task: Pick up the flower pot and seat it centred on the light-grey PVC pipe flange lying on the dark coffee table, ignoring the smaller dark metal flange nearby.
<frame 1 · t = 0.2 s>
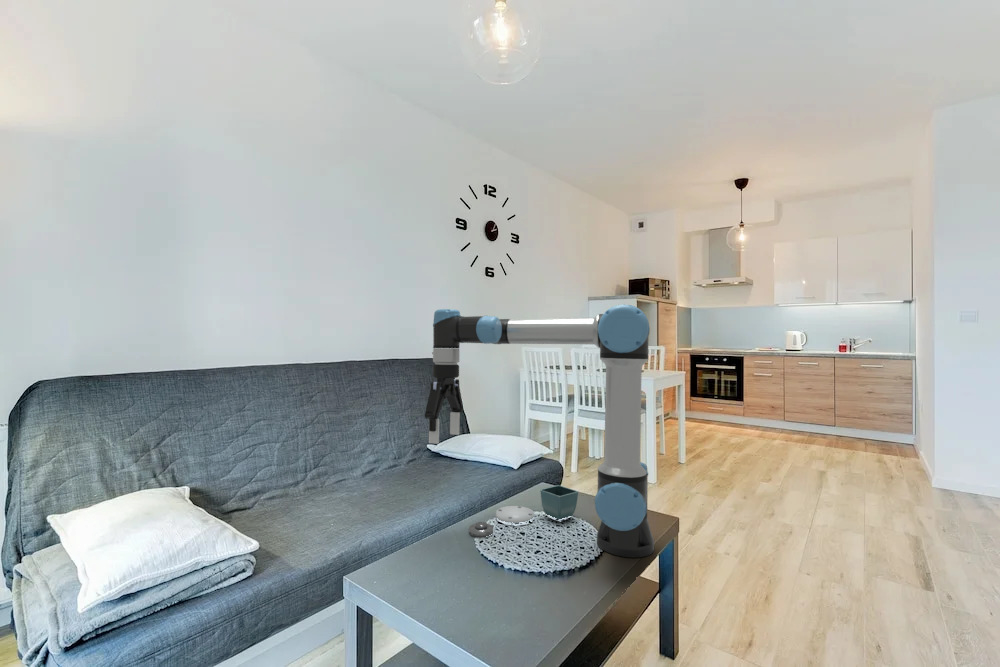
hand: (444, 438, 130), 28 cm above the table, fingers open, 13 cm apart
small metal flange: (481, 532, 133), on the table
flower pot: (558, 519, 145), on the table
grey flange: (514, 518, 144), on the table
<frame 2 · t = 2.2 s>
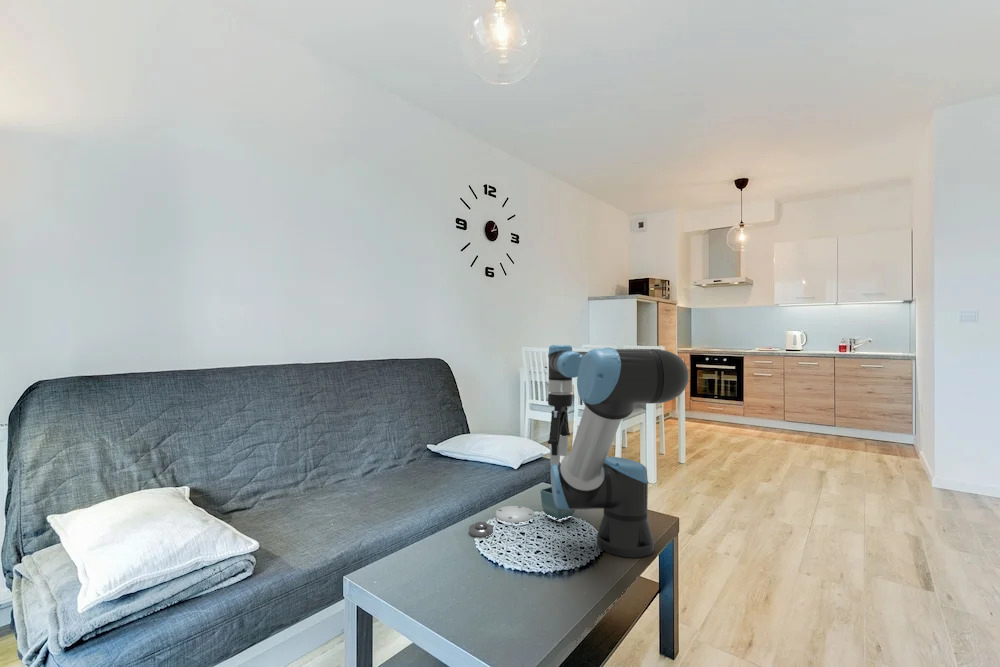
hand: (559, 460, 145), 18 cm above the table, fingers open, 13 cm apart
nothing on the table moved.
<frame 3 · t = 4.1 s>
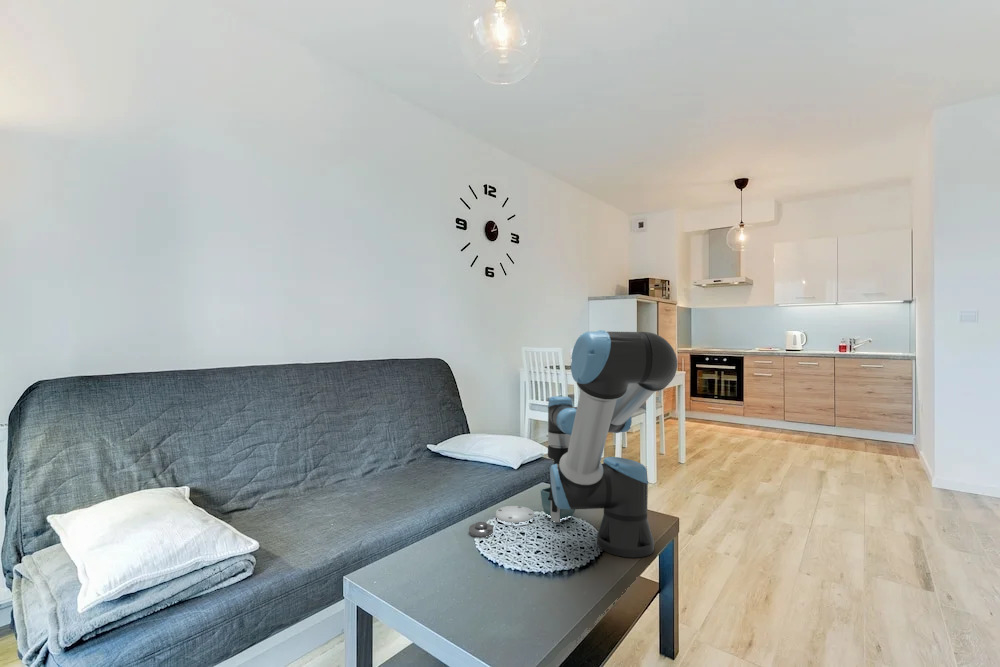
hand: (559, 515, 145), 1 cm above the table, fingers closed on flower pot, 11 cm apart
flower pot: (559, 519, 145), on the table, touching gripper
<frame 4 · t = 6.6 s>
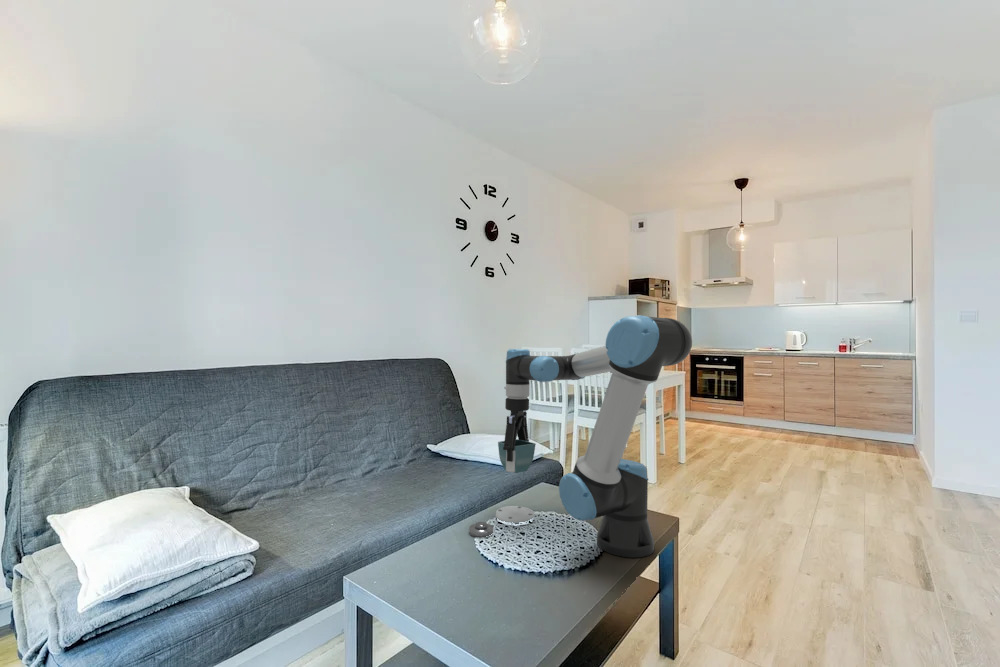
hand: (516, 467, 145), 16 cm above the table, fingers closed on flower pot, 11 cm apart
flower pot: (516, 471, 145), point 15 cm above the table, touching gripper
when the fingers open (4 cm above the table, at t = 9.3 s): flower pot moves 2 cm, resting on grey flange.
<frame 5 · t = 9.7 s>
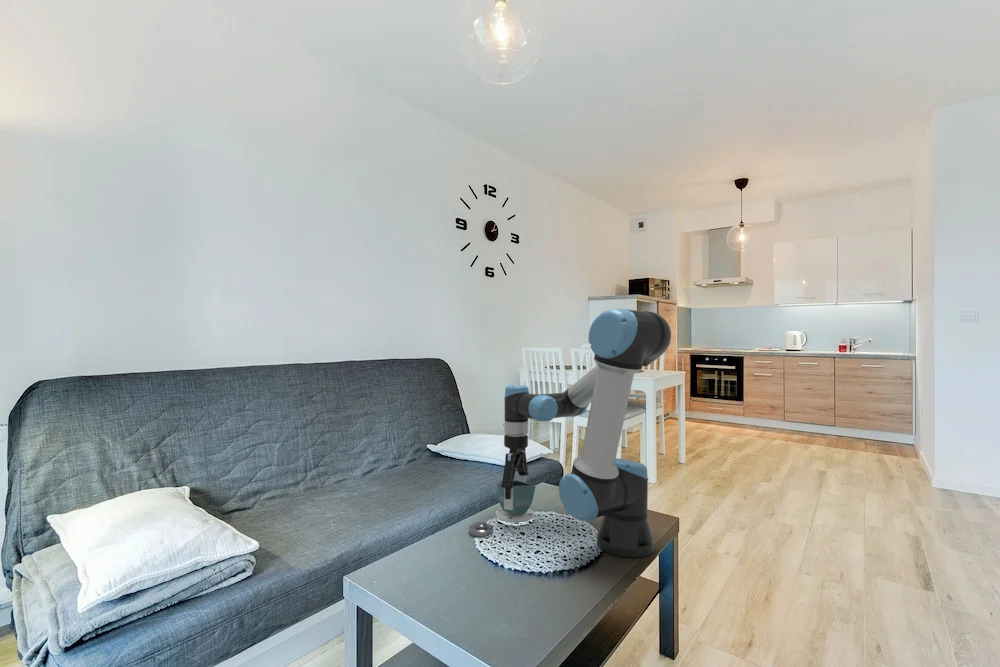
hand: (515, 502, 144), 5 cm above the table, fingers open, 13 cm apart
flower pot: (514, 513, 142), point 2 cm above the table, touching grey flange, gripper
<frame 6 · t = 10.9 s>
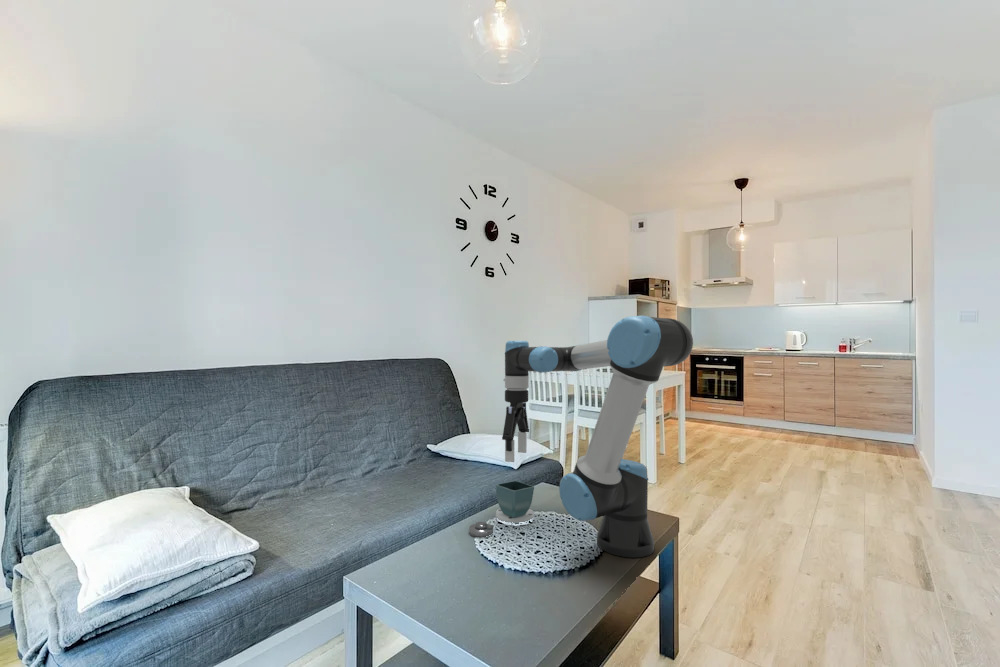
hand: (516, 456, 144), 19 cm above the table, fingers open, 13 cm apart
flower pot: (514, 515, 142), point 2 cm above the table, touching grey flange
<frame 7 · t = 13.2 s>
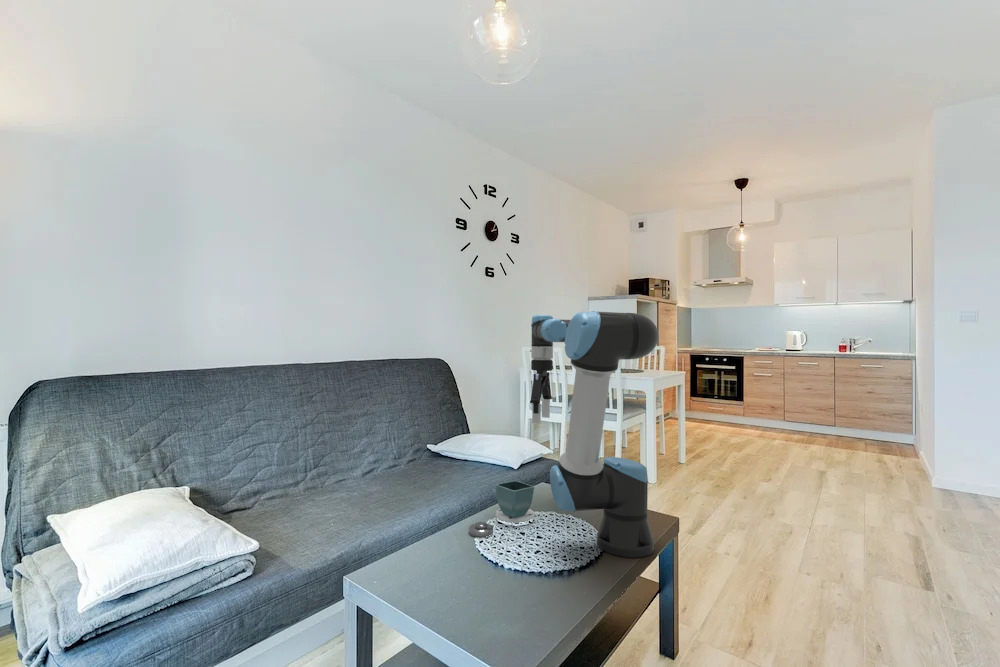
hand: (541, 420, 160), 29 cm above the table, fingers open, 13 cm apart
nothing on the table moved.
at the end: flower pot 2.0 cm from the grey flange (horizontally); flower pot point 1.9 cm above the table; flower pot tilted 1° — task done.
